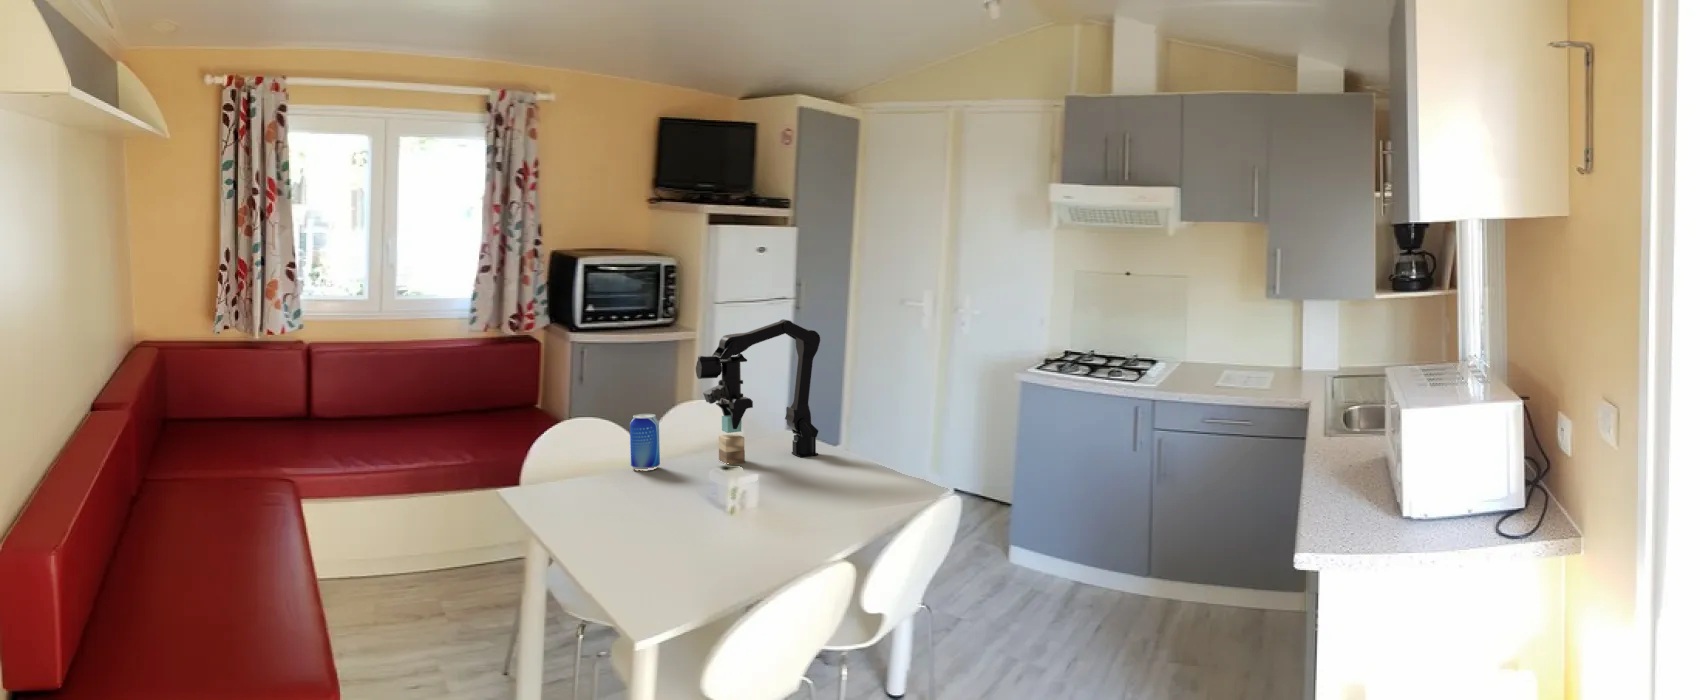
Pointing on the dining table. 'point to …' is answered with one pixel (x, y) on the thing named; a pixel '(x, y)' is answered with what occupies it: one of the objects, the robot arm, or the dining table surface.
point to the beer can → (644, 441)
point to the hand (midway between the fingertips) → (731, 427)
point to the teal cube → (729, 425)
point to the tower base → (732, 457)
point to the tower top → (731, 443)
